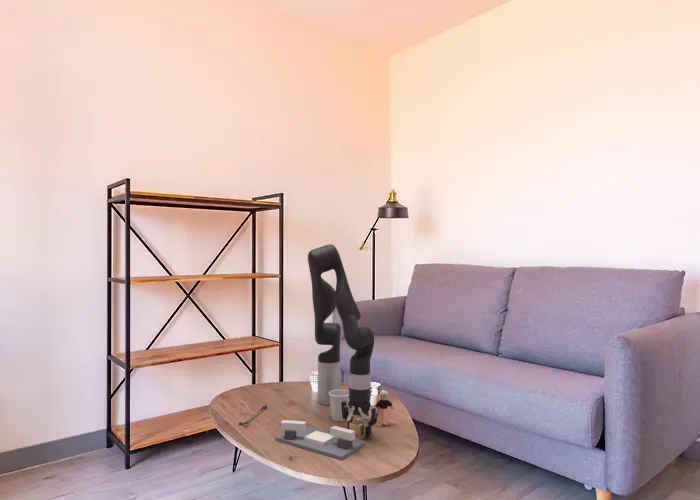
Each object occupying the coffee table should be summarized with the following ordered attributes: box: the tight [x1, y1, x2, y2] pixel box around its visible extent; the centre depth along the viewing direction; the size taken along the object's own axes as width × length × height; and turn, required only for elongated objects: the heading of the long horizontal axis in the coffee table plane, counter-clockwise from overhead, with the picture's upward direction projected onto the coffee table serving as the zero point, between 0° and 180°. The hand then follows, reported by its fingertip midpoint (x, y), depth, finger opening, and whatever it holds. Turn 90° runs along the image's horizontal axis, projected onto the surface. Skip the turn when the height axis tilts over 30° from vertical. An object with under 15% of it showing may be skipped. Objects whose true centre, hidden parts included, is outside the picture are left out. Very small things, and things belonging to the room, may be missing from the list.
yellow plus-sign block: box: [349, 417, 366, 441], centre depth 162 cm, size 6×4×5 cm
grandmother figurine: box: [374, 390, 394, 427], centre depth 173 cm, size 8×4×13 cm, turn 118°
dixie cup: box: [329, 388, 349, 422], centre depth 179 cm, size 8×8×10 cm
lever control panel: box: [274, 419, 366, 461], centre depth 156 cm, size 27×14×6 cm, turn 57°
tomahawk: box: [238, 404, 268, 427], centre depth 180 cm, size 21×7×1 cm, turn 165°
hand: (359, 434), depth 162 cm, fingers open, 6 cm apart
